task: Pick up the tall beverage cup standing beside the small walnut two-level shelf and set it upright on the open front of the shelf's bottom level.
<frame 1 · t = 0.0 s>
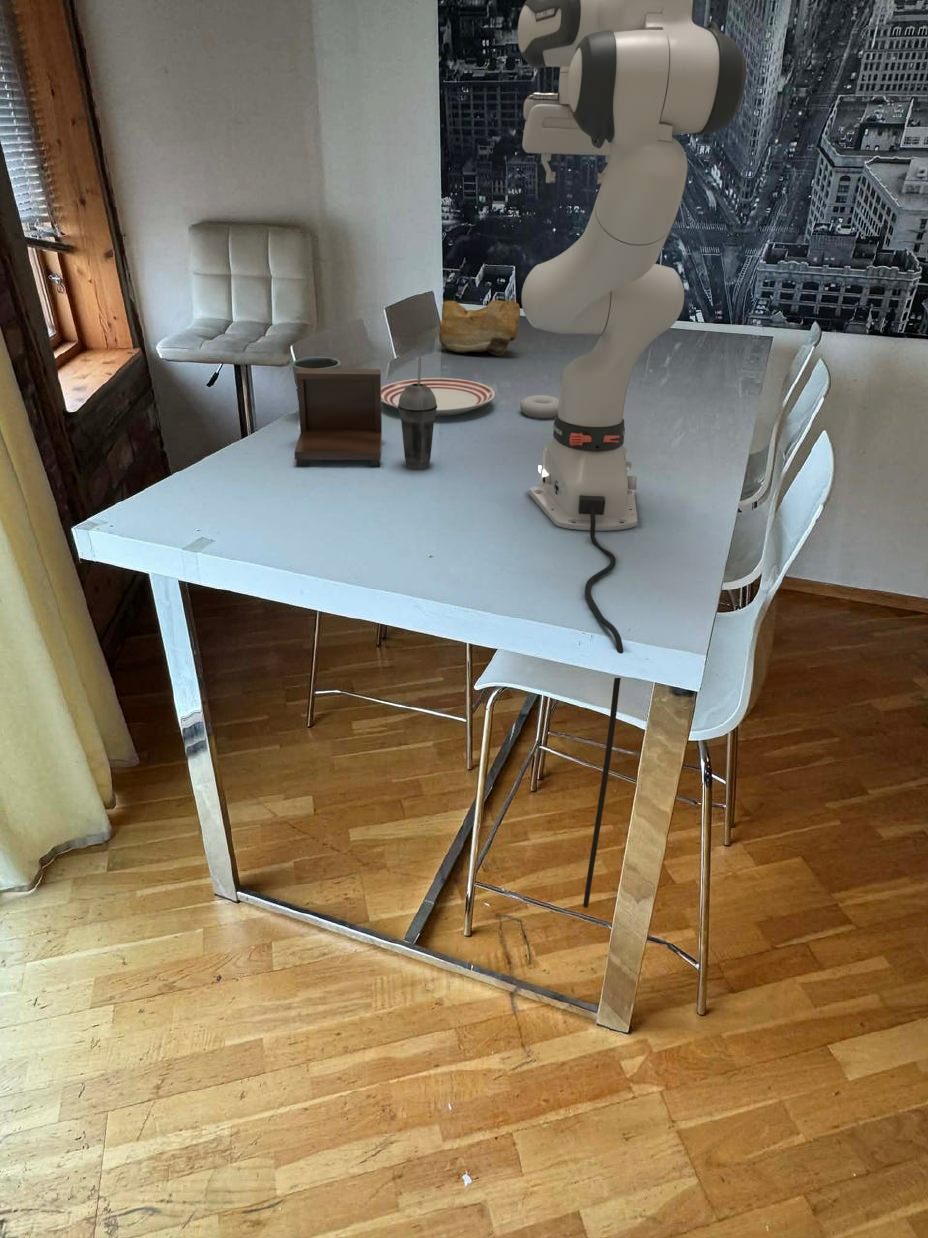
hand: (576, 183, 153), 48 cm above the table, tool pointing down, fingers open, 8 cm apart
drinking glass: (319, 418, 186), on the table
beverage cup: (417, 466, 162), on the table
shelf: (340, 453, 166), on the table
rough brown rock: (483, 351, 245), on the table
donut: (541, 414, 193), on the table
dinner plate: (435, 406, 197), on the table
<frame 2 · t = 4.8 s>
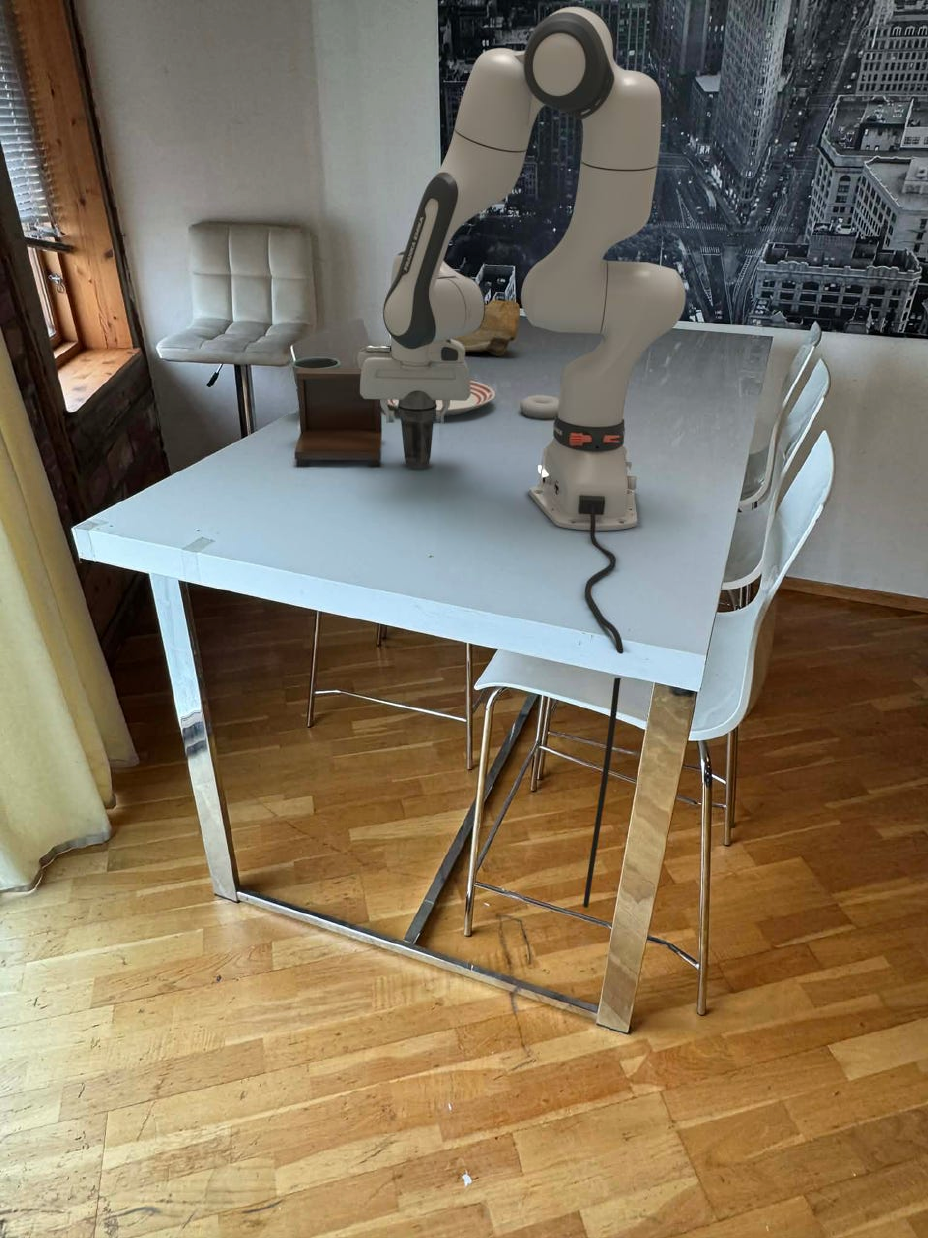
hand: (414, 422, 158), 8 cm above the table, tool pointing down, fingers open, 8 cm apart
beverage cup: (417, 466, 162), on the table, touching arm, gripper
everything else where it was.
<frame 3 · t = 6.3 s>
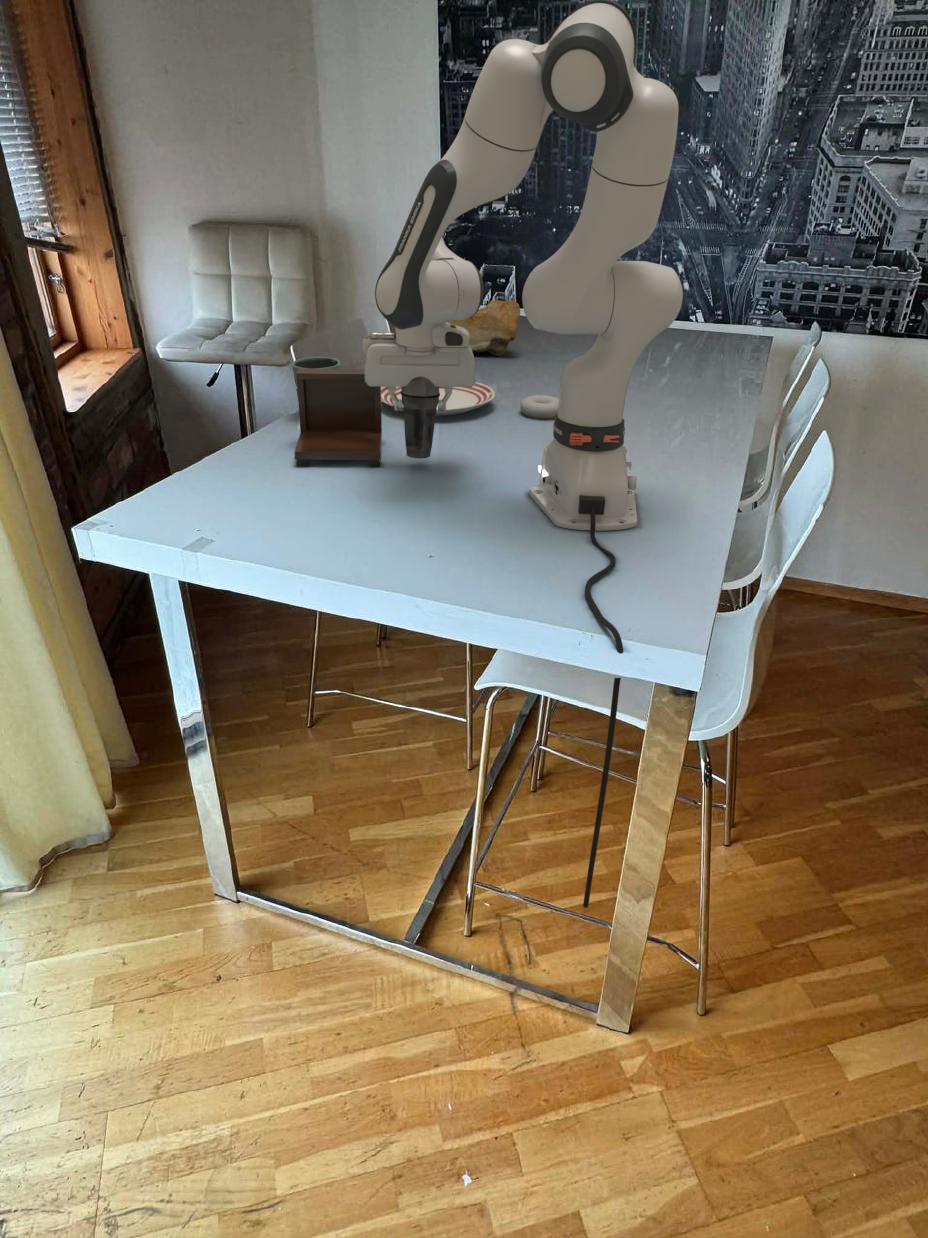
hand: (420, 410, 156), 11 cm above the table, tool pointing down, fingers closed on beverage cup, 6 cm apart
beverage cup: (418, 456, 160), point 2 cm above the table, touching arm, gripper
everything else where it was.
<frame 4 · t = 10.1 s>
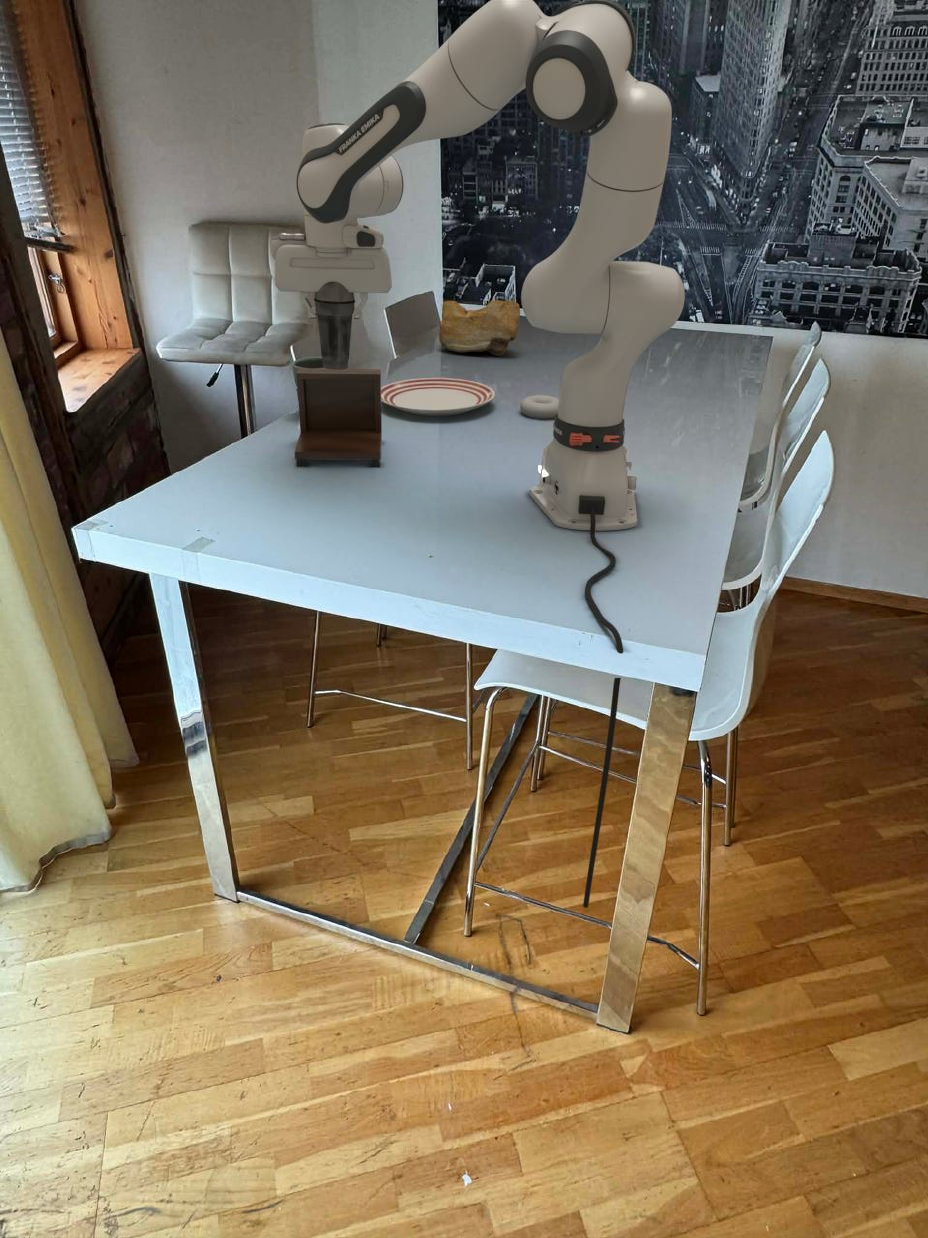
hand: (335, 318, 151), 26 cm above the table, tool pointing down, fingers closed on beverage cup, 6 cm apart
beverage cup: (335, 367, 155), point 17 cm above the table, touching gripper
everything else where it was.
when the fingers open (12 cm above the table, at t = 14.0 s): beverage cup moves 1 cm, point 3 cm above the table.
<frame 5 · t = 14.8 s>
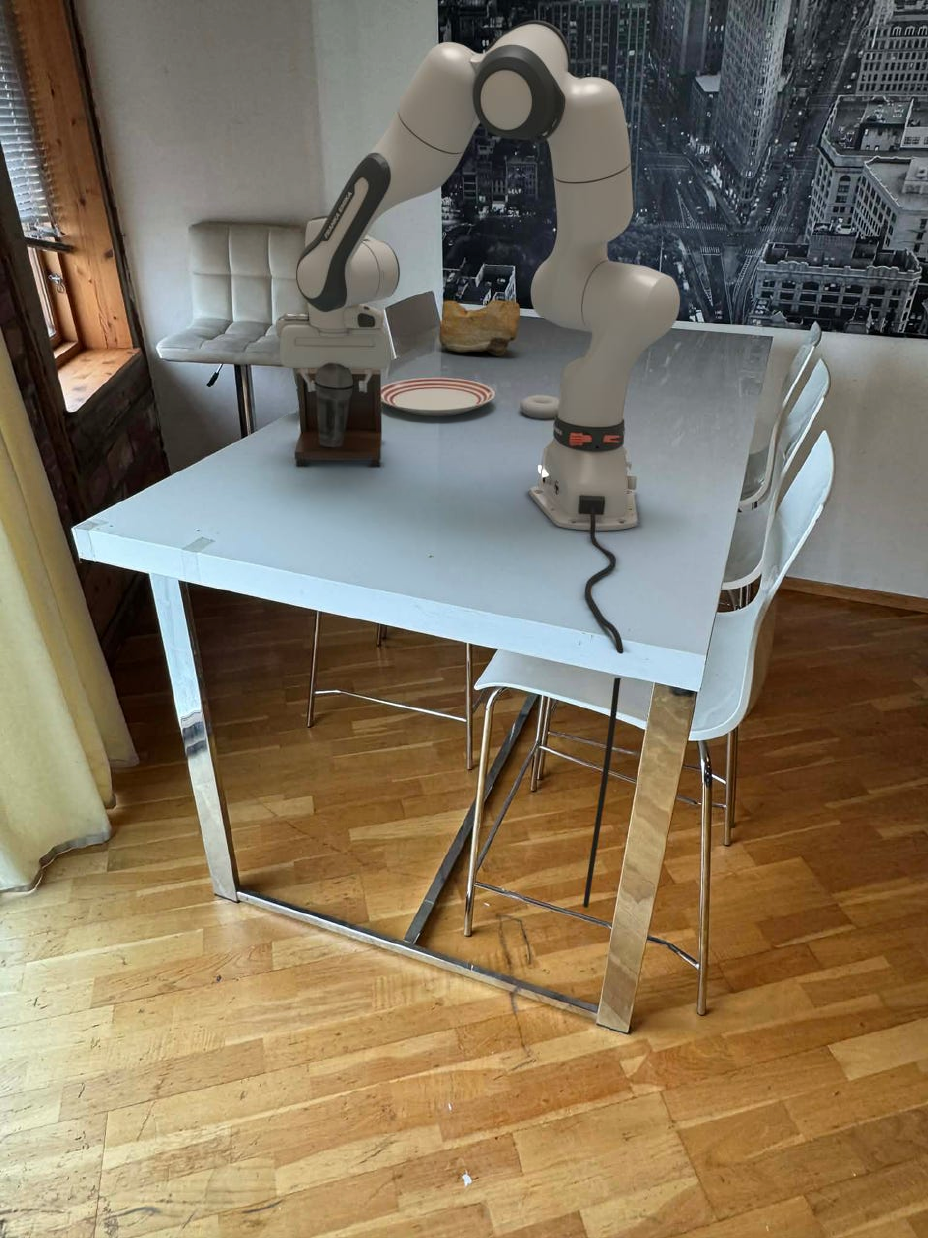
hand: (337, 391, 158), 13 cm above the table, tool pointing down, fingers open, 8 cm apart
beverage cup: (330, 444, 162), point 3 cm above the table, touching gripper
everything else where it was.
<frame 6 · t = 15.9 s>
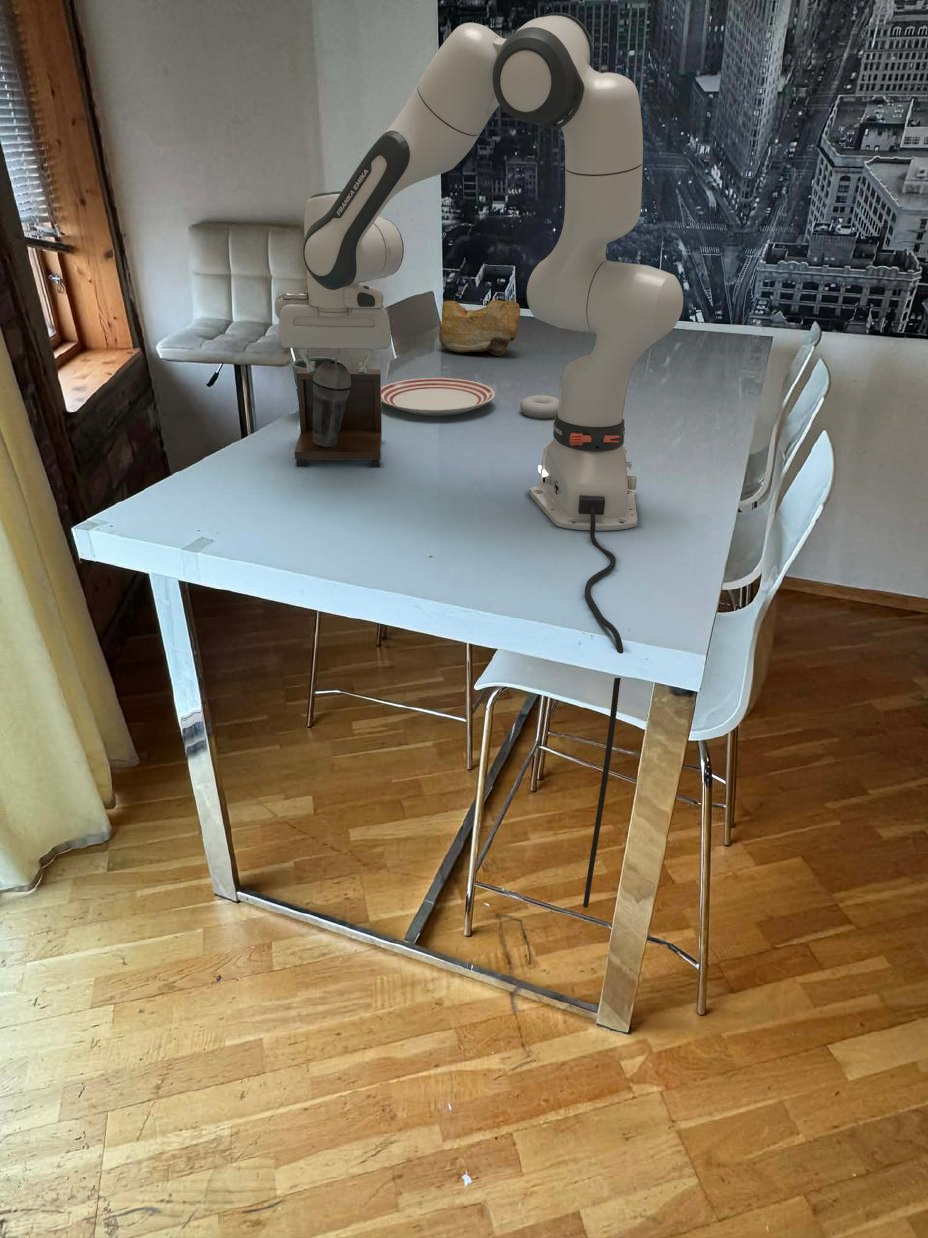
hand: (337, 372, 156), 16 cm above the table, tool pointing down, fingers open, 8 cm apart
beverage cup: (324, 443, 162), point 3 cm above the table, touching gripper, shelf
everything else where it was.
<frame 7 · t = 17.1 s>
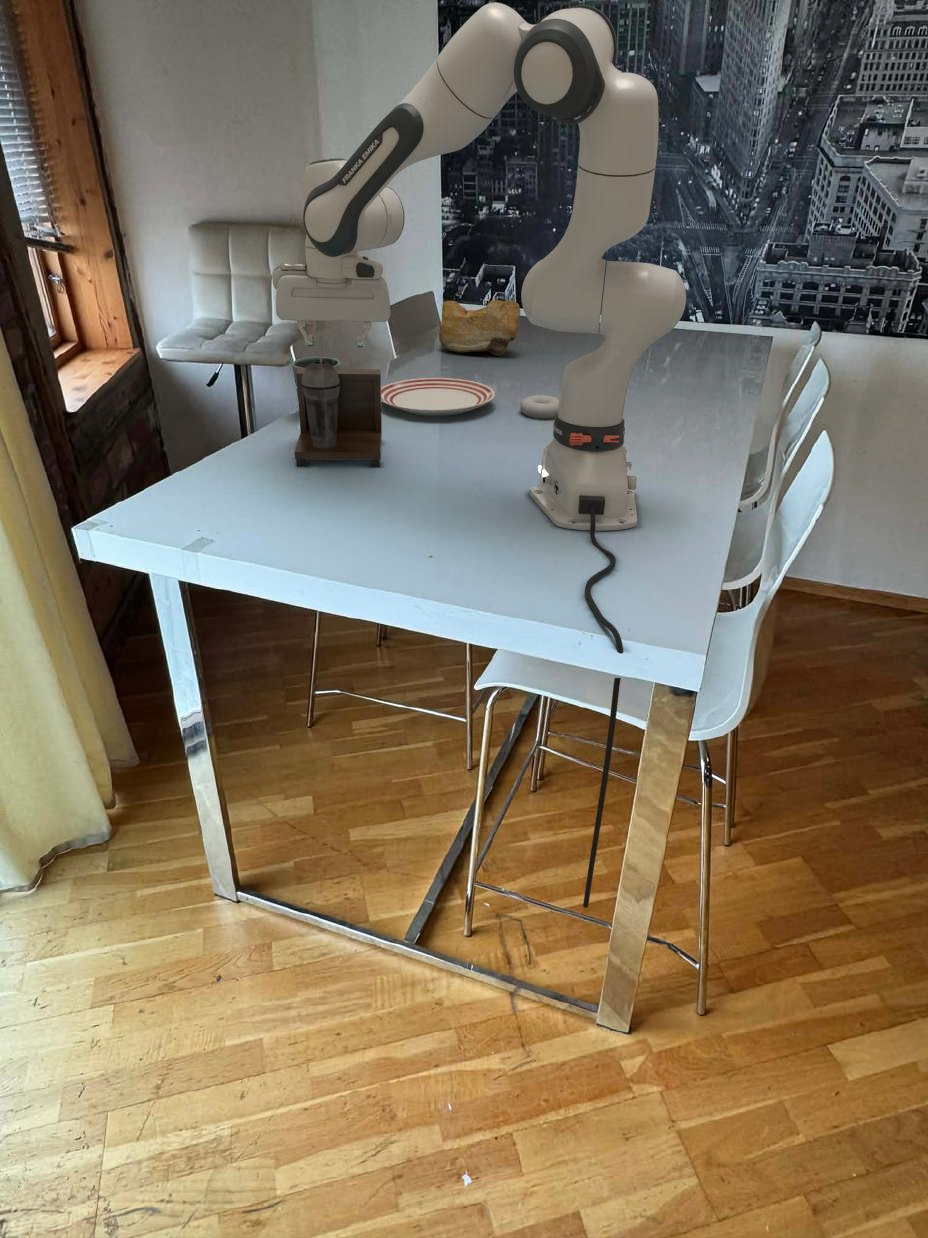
hand: (335, 346, 154), 21 cm above the table, tool pointing down, fingers open, 8 cm apart
beverage cup: (324, 445, 162), point 3 cm above the table, touching shelf
everything else where it was.
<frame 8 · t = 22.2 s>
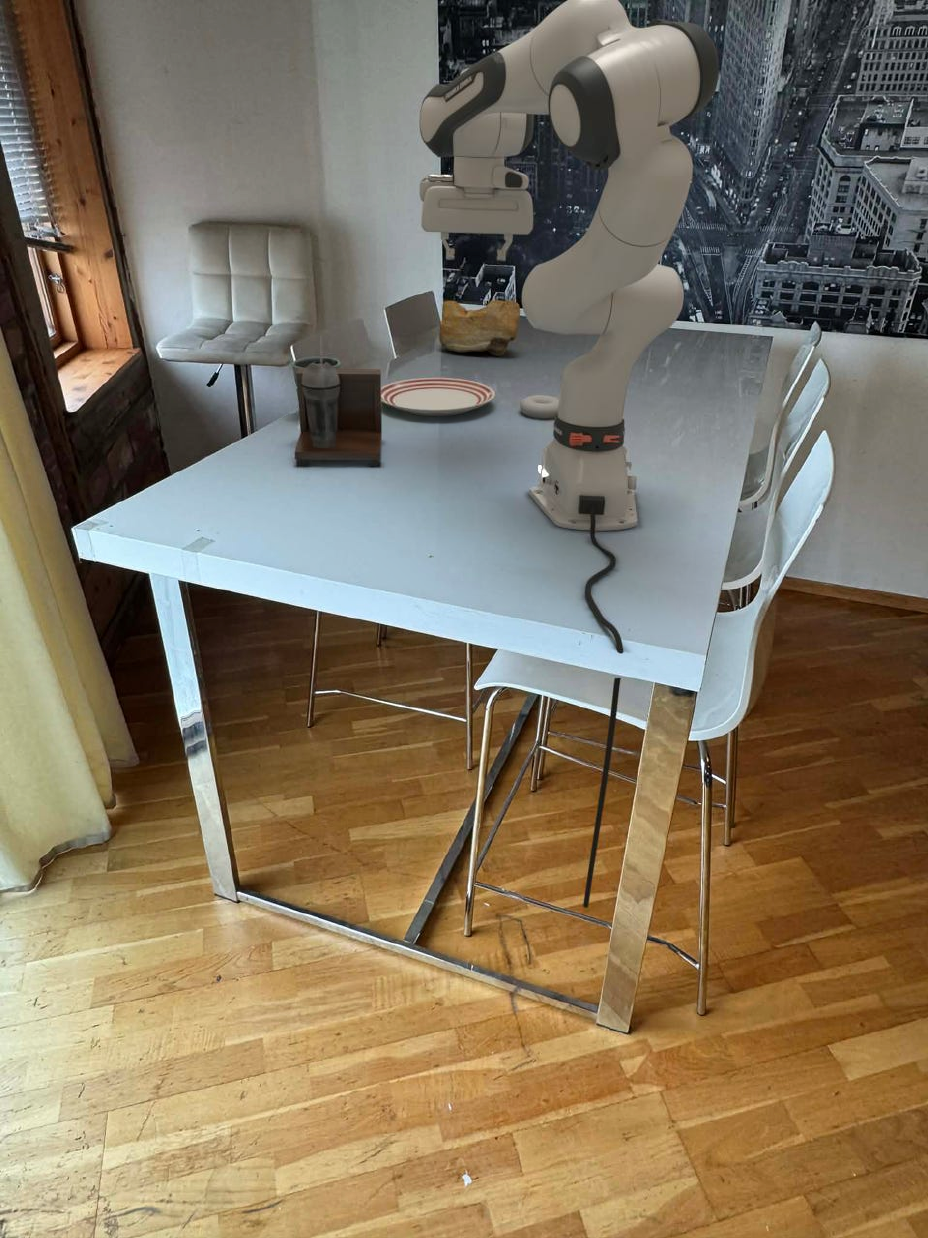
hand: (475, 259, 156), 35 cm above the table, tool pointing down, fingers open, 8 cm apart
nothing on the table moved.
at the end: beverage cup inside the target area on the shelf (2.9 cm from its centre), point 2.8 cm above the shelf's base; beverage cup tilted 0°; the gripper is holding nothing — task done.
